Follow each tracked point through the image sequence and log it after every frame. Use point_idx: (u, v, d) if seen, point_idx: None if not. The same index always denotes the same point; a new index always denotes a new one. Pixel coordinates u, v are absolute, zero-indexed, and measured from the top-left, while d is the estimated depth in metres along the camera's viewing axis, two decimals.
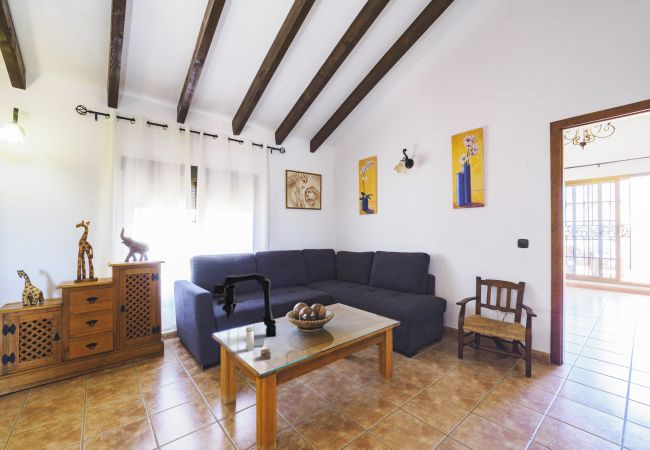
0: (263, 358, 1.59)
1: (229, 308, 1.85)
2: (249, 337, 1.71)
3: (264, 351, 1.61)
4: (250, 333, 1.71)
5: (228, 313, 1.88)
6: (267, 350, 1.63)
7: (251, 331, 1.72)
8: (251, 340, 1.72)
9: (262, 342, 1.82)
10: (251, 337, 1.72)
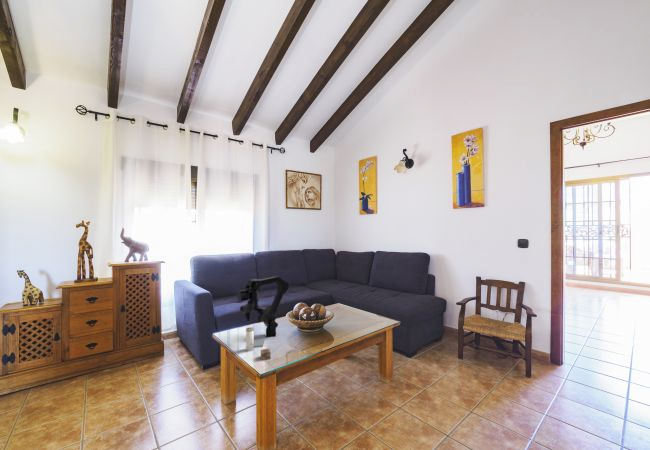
0: (263, 358, 1.59)
1: (266, 310, 1.85)
2: (249, 337, 1.71)
3: (264, 351, 1.61)
4: (250, 333, 1.71)
5: (261, 316, 1.85)
6: (267, 350, 1.63)
7: (251, 331, 1.72)
8: (251, 340, 1.72)
9: (262, 342, 1.82)
10: (251, 337, 1.72)
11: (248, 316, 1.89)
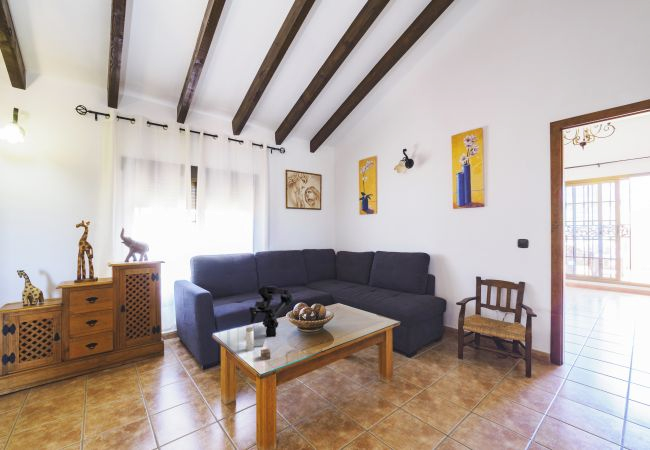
0: (263, 358, 1.59)
1: (275, 315, 1.84)
2: (249, 337, 1.71)
3: (264, 351, 1.61)
4: (250, 333, 1.71)
5: (266, 319, 1.81)
6: (267, 350, 1.63)
7: (251, 331, 1.72)
8: (251, 340, 1.72)
9: (262, 342, 1.82)
10: (251, 337, 1.72)
11: (253, 319, 1.84)
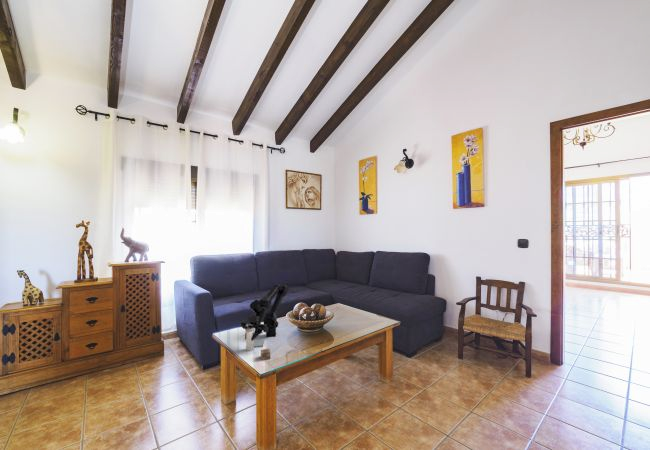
0: (263, 358, 1.59)
1: (267, 330, 1.75)
2: (249, 337, 1.71)
3: (264, 351, 1.61)
4: (250, 333, 1.71)
5: (256, 334, 1.73)
6: (267, 350, 1.63)
7: (251, 331, 1.72)
8: (251, 340, 1.72)
9: (262, 342, 1.82)
10: (251, 337, 1.72)
11: None
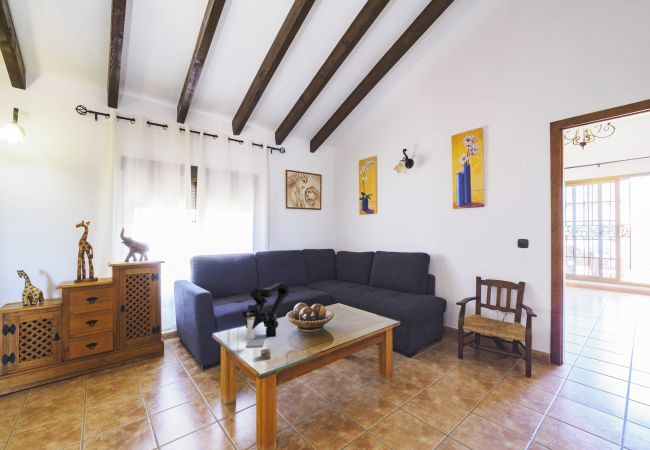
0: (263, 358, 1.59)
1: (268, 319, 1.77)
2: (250, 325, 1.73)
3: (264, 351, 1.61)
4: (250, 321, 1.73)
5: (257, 323, 1.75)
6: (267, 350, 1.63)
7: (252, 319, 1.73)
8: None
9: (262, 342, 1.82)
10: (252, 325, 1.73)
11: None
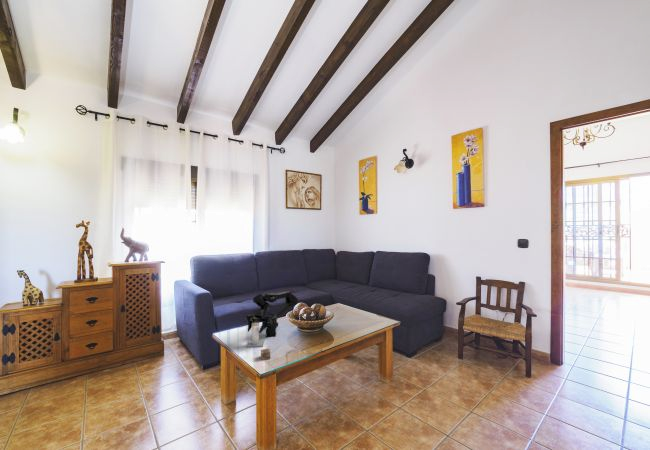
0: (263, 358, 1.59)
1: (271, 323, 1.82)
2: (254, 331, 1.79)
3: (264, 351, 1.61)
4: (255, 327, 1.79)
5: (263, 327, 1.80)
6: (267, 350, 1.63)
7: (256, 325, 1.79)
8: (256, 334, 1.79)
9: (262, 342, 1.82)
10: (256, 331, 1.79)
11: (250, 327, 1.83)
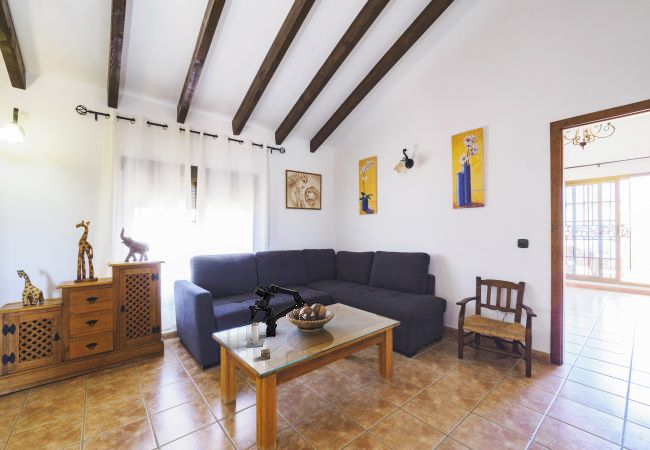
0: (263, 358, 1.59)
1: (274, 313, 1.86)
2: (254, 331, 1.78)
3: (264, 351, 1.61)
4: (255, 327, 1.78)
5: (266, 317, 1.84)
6: (267, 350, 1.63)
7: (256, 326, 1.79)
8: (256, 334, 1.79)
9: (262, 342, 1.82)
10: (256, 331, 1.79)
11: (253, 317, 1.87)
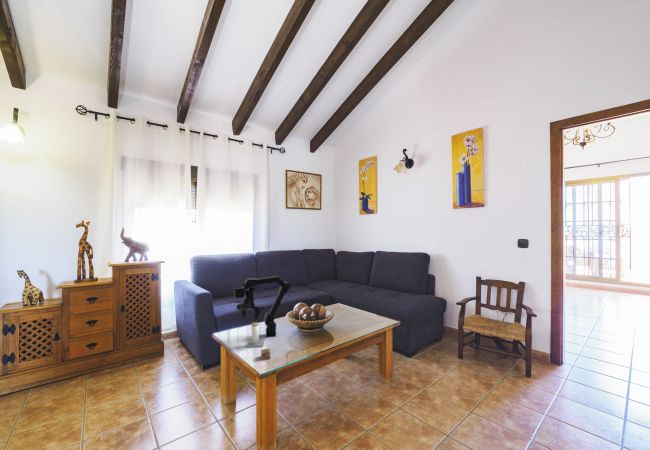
0: (263, 358, 1.59)
1: (262, 308, 1.89)
2: (254, 331, 1.78)
3: (264, 351, 1.61)
4: (255, 327, 1.78)
5: (257, 314, 1.89)
6: (267, 350, 1.63)
7: (256, 326, 1.79)
8: (256, 334, 1.79)
9: (262, 342, 1.82)
10: (256, 331, 1.79)
11: (244, 314, 1.93)
